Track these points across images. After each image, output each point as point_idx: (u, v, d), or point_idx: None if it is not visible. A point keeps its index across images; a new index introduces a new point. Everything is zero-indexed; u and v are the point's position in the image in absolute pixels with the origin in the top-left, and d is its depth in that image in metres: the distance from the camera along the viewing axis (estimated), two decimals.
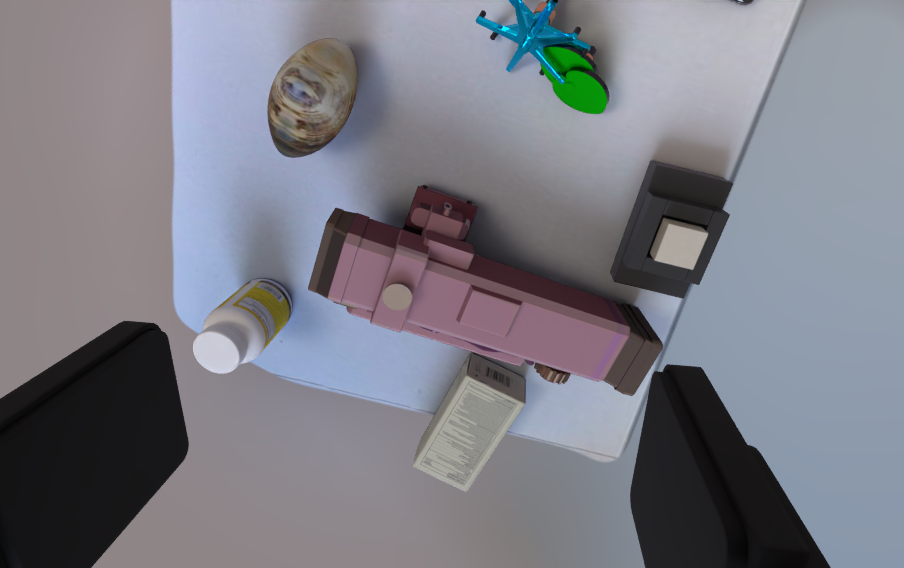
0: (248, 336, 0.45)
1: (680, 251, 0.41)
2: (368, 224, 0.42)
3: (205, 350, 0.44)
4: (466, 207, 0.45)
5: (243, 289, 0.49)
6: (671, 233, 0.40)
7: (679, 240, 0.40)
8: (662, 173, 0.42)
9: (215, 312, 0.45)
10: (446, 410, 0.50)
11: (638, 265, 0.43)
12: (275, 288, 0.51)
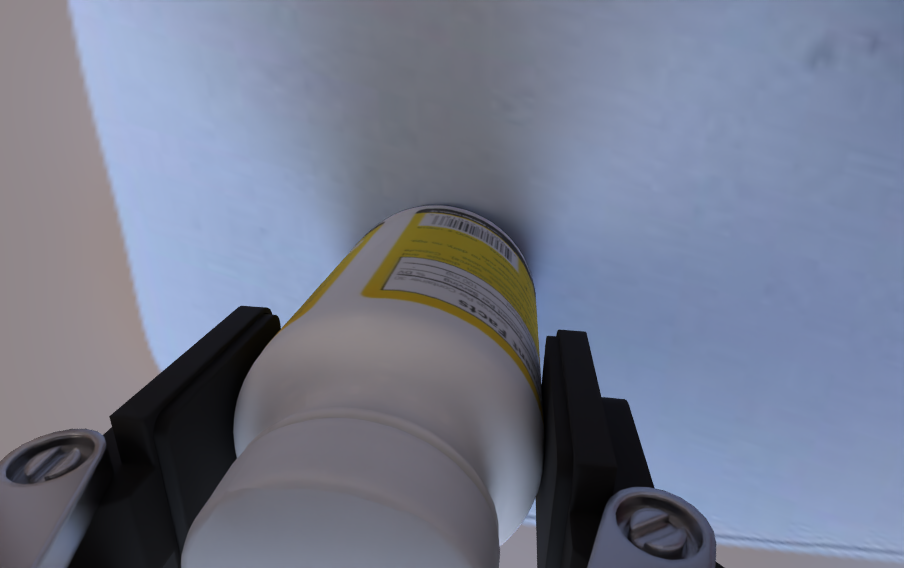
0: (483, 450, 0.08)
1: None
2: None
3: None
4: None
5: (373, 241, 0.12)
6: None
7: None
8: None
9: (281, 344, 0.08)
10: None
11: None
12: (481, 226, 0.13)
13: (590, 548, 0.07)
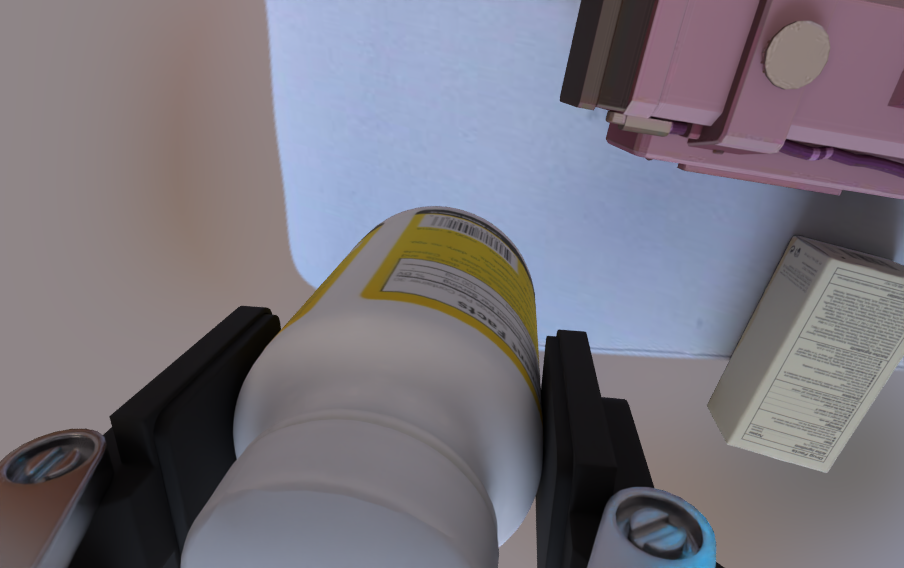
0: (481, 451, 0.08)
1: None
2: None
3: None
4: None
5: (373, 242, 0.12)
6: None
7: None
8: None
9: (280, 345, 0.08)
10: (790, 332, 0.29)
11: None
12: (481, 227, 0.13)
13: (590, 548, 0.07)
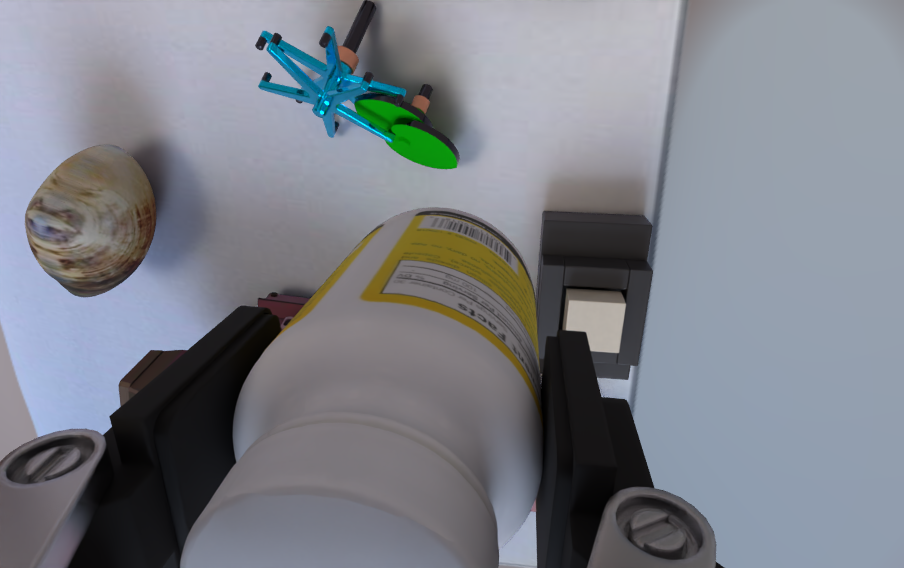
0: (481, 454, 0.08)
1: (594, 332, 0.29)
2: None
3: None
4: None
5: (372, 243, 0.12)
6: (576, 311, 0.29)
7: (589, 319, 0.29)
8: (554, 229, 0.31)
9: (281, 348, 0.08)
10: None
11: None
12: (481, 228, 0.13)
13: (590, 548, 0.07)
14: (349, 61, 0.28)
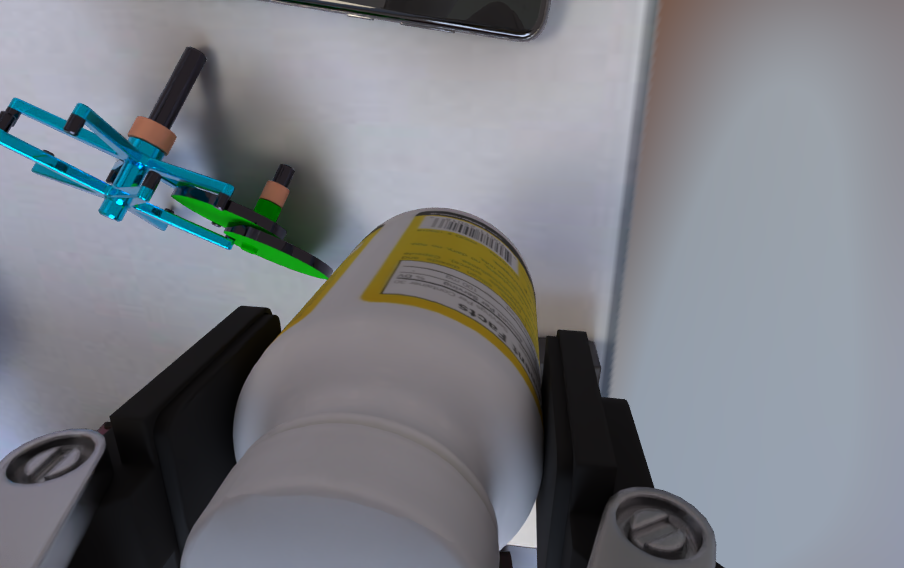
0: (482, 455, 0.08)
1: None
2: None
3: None
4: None
5: (373, 243, 0.12)
6: None
7: None
8: None
9: (280, 349, 0.08)
10: None
11: None
12: (481, 228, 0.13)
13: (590, 548, 0.07)
14: (155, 139, 0.19)
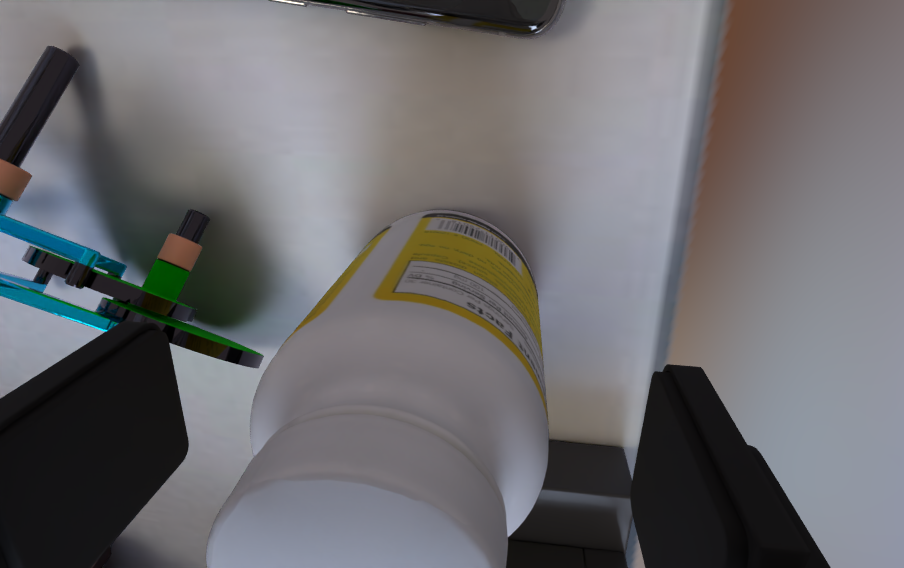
0: (490, 446, 0.08)
1: None
2: None
3: None
4: None
5: (381, 244, 0.13)
6: None
7: None
8: None
9: (297, 345, 0.09)
10: None
11: None
12: (486, 230, 0.14)
13: None
14: None
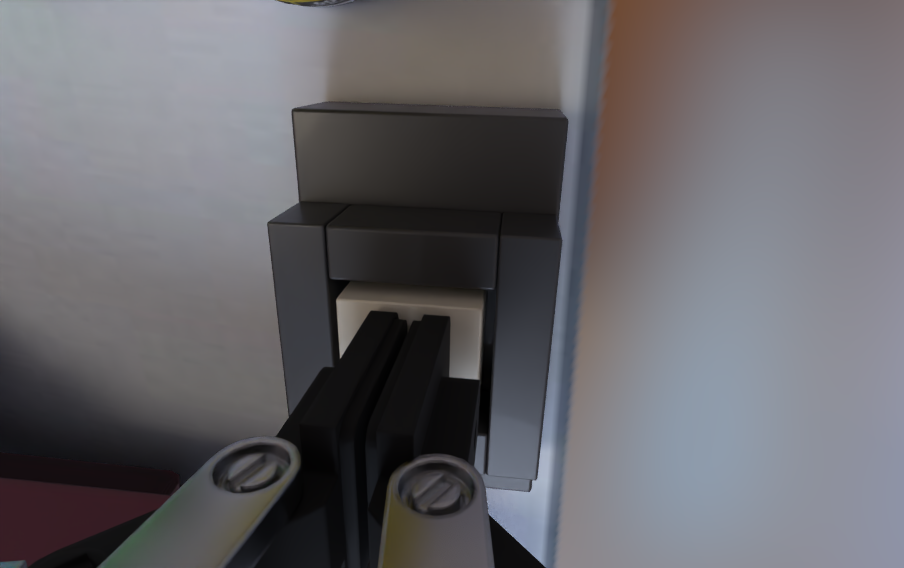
0: None
1: None
2: None
3: None
4: None
5: None
6: (357, 329, 0.11)
7: None
8: (320, 133, 0.12)
9: None
10: None
11: None
12: None
13: (384, 510, 0.07)
14: None
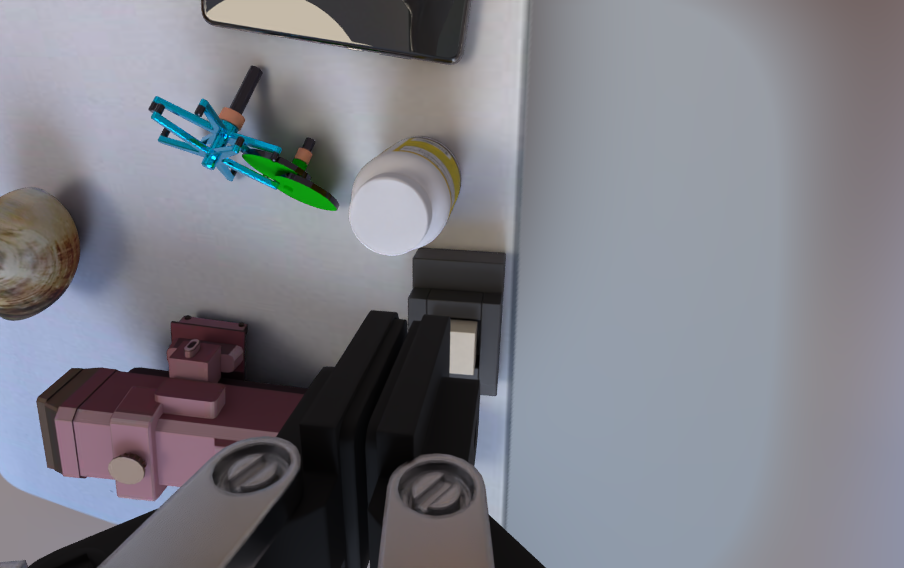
0: (428, 192, 0.28)
1: (451, 357, 0.34)
2: (106, 381, 0.37)
3: (370, 217, 0.26)
4: (232, 334, 0.39)
5: (393, 145, 0.32)
6: None
7: None
8: (422, 266, 0.35)
9: (369, 163, 0.28)
10: None
11: None
12: (436, 143, 0.33)
13: (384, 510, 0.07)
14: (234, 121, 0.32)
